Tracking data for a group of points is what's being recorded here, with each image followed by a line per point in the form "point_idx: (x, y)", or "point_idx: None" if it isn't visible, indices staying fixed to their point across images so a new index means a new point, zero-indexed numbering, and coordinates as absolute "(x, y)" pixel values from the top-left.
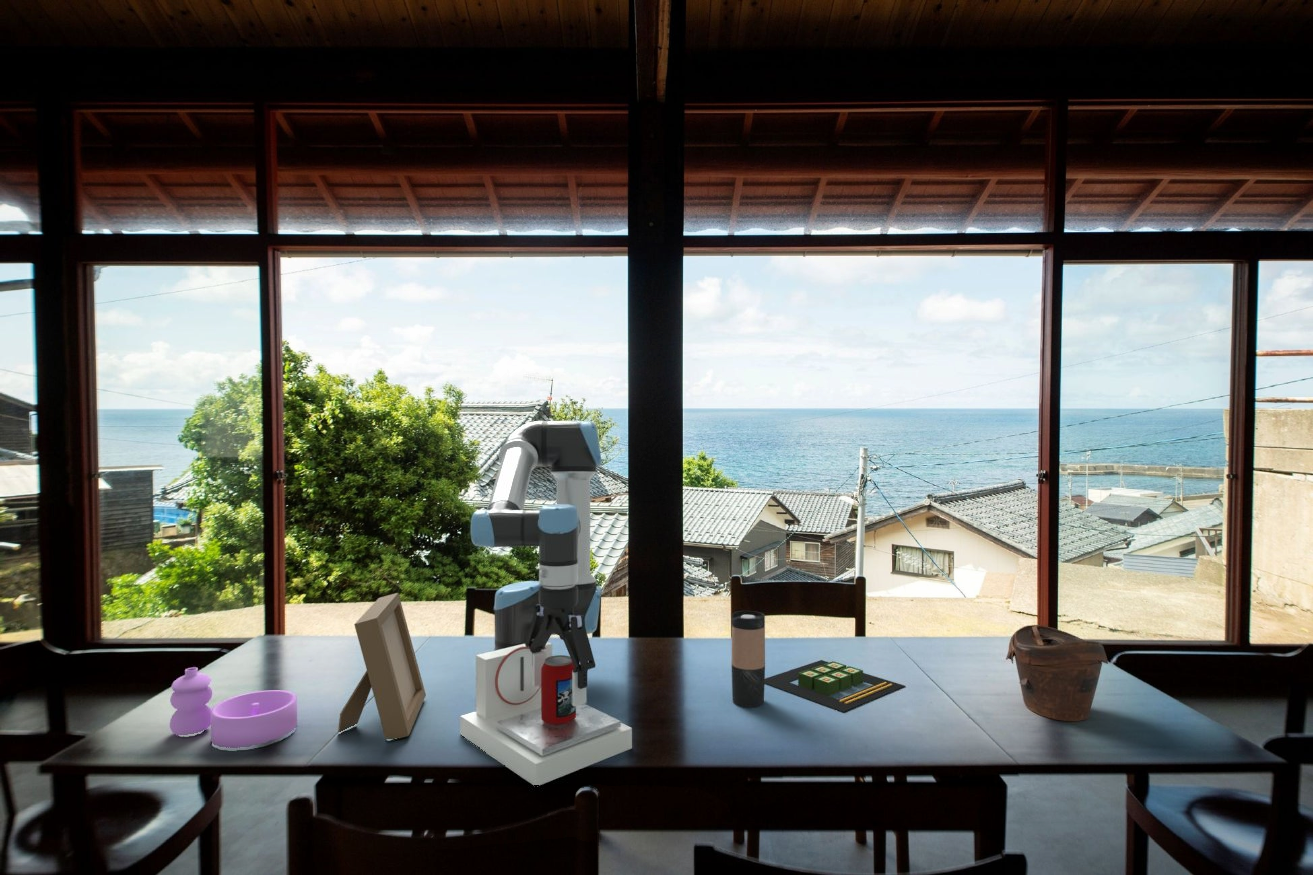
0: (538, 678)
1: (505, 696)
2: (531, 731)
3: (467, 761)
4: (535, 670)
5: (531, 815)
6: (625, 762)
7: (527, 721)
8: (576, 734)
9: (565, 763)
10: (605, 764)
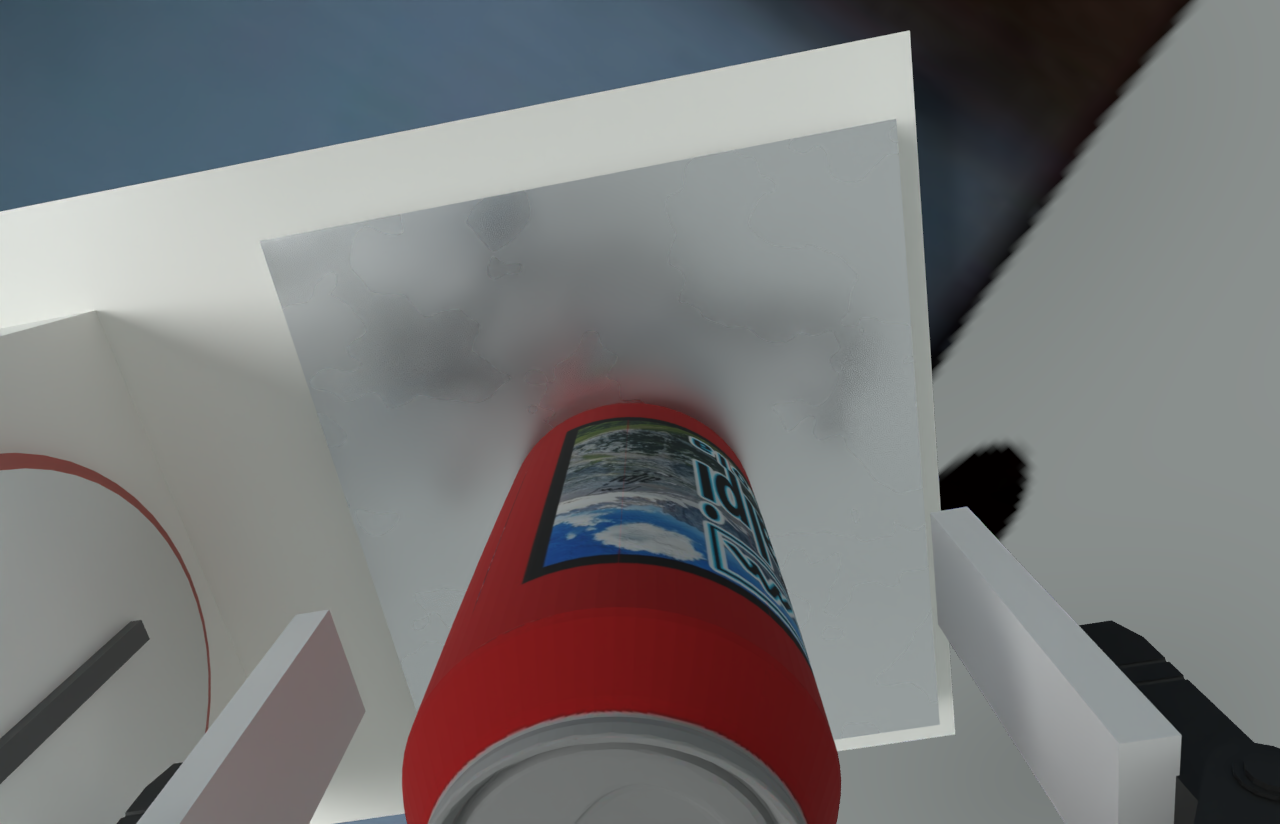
0: (328, 722)
1: (194, 739)
2: None
3: None
4: (303, 821)
5: None
6: (992, 188)
7: None
8: (889, 495)
9: None
10: (937, 299)
